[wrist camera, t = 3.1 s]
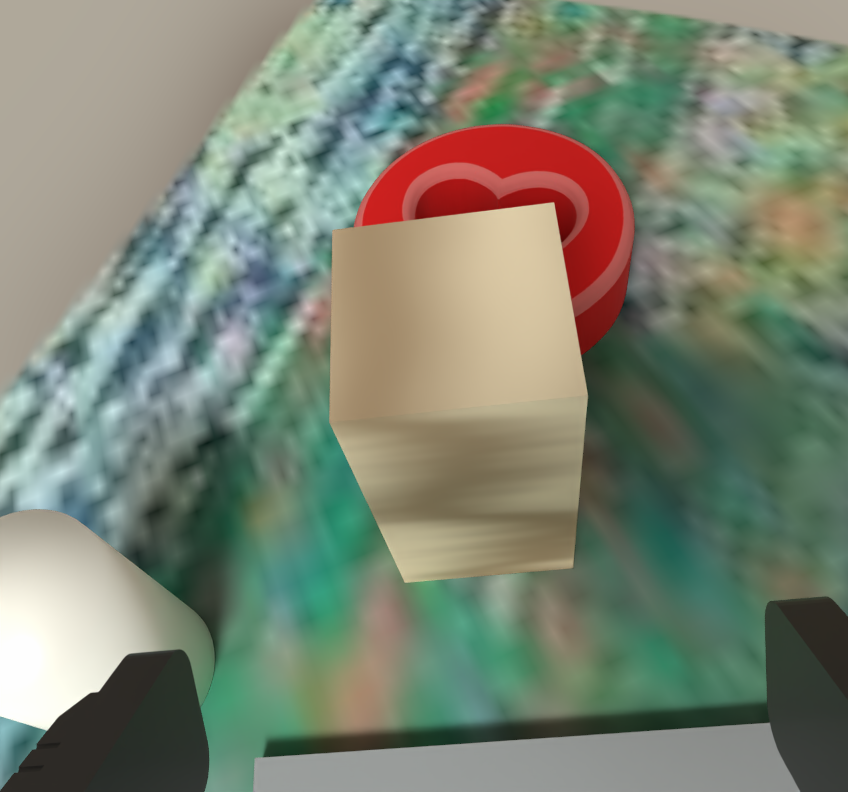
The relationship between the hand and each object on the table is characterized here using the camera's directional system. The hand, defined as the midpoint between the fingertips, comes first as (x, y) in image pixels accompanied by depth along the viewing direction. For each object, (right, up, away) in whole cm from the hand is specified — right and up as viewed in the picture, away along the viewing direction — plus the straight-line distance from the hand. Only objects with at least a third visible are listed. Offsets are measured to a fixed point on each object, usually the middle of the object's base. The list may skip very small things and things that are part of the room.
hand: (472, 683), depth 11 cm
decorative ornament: (+2, +8, +19) cm, 21 cm away
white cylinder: (-9, -4, +13) cm, 16 cm away
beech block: (+1, +1, +14) cm, 14 cm away
